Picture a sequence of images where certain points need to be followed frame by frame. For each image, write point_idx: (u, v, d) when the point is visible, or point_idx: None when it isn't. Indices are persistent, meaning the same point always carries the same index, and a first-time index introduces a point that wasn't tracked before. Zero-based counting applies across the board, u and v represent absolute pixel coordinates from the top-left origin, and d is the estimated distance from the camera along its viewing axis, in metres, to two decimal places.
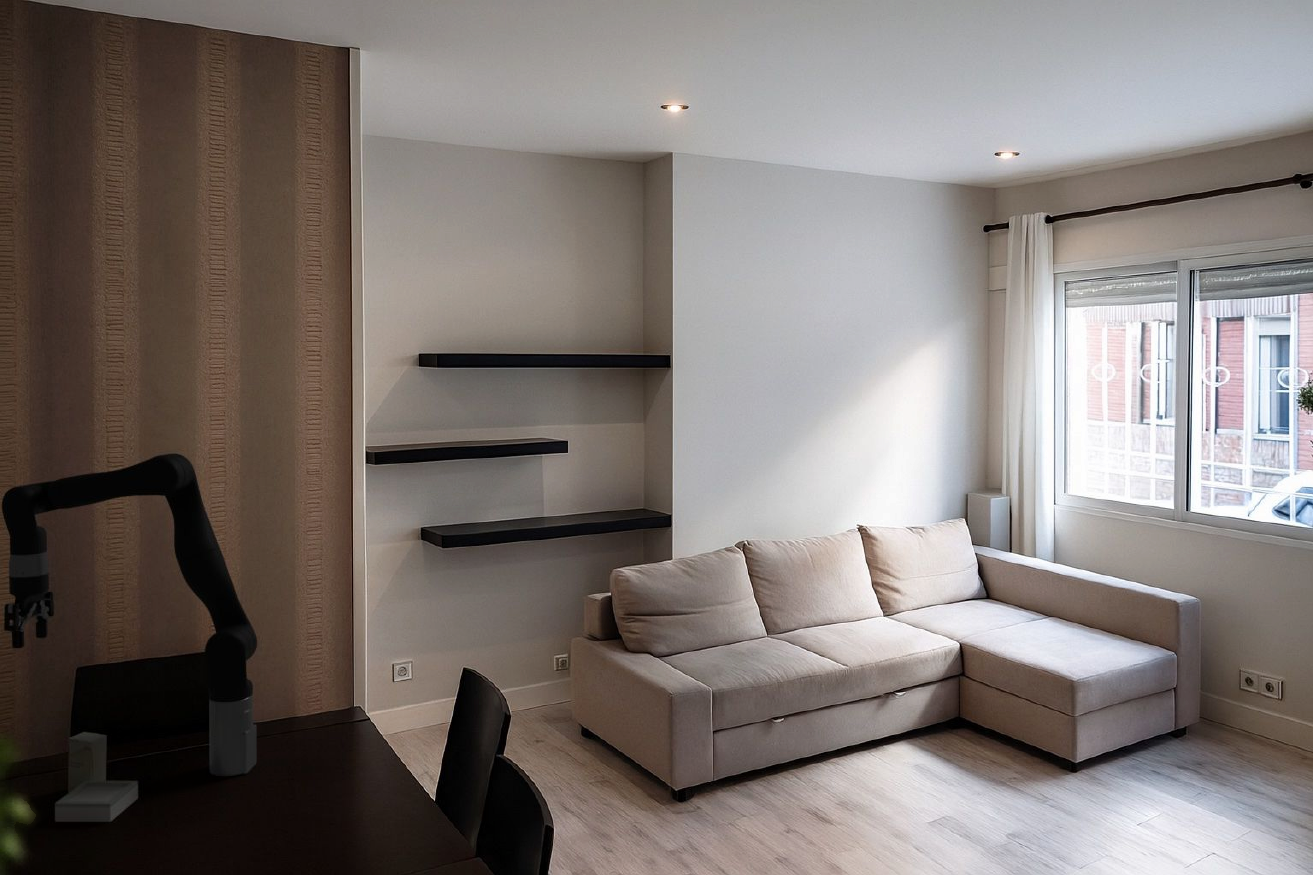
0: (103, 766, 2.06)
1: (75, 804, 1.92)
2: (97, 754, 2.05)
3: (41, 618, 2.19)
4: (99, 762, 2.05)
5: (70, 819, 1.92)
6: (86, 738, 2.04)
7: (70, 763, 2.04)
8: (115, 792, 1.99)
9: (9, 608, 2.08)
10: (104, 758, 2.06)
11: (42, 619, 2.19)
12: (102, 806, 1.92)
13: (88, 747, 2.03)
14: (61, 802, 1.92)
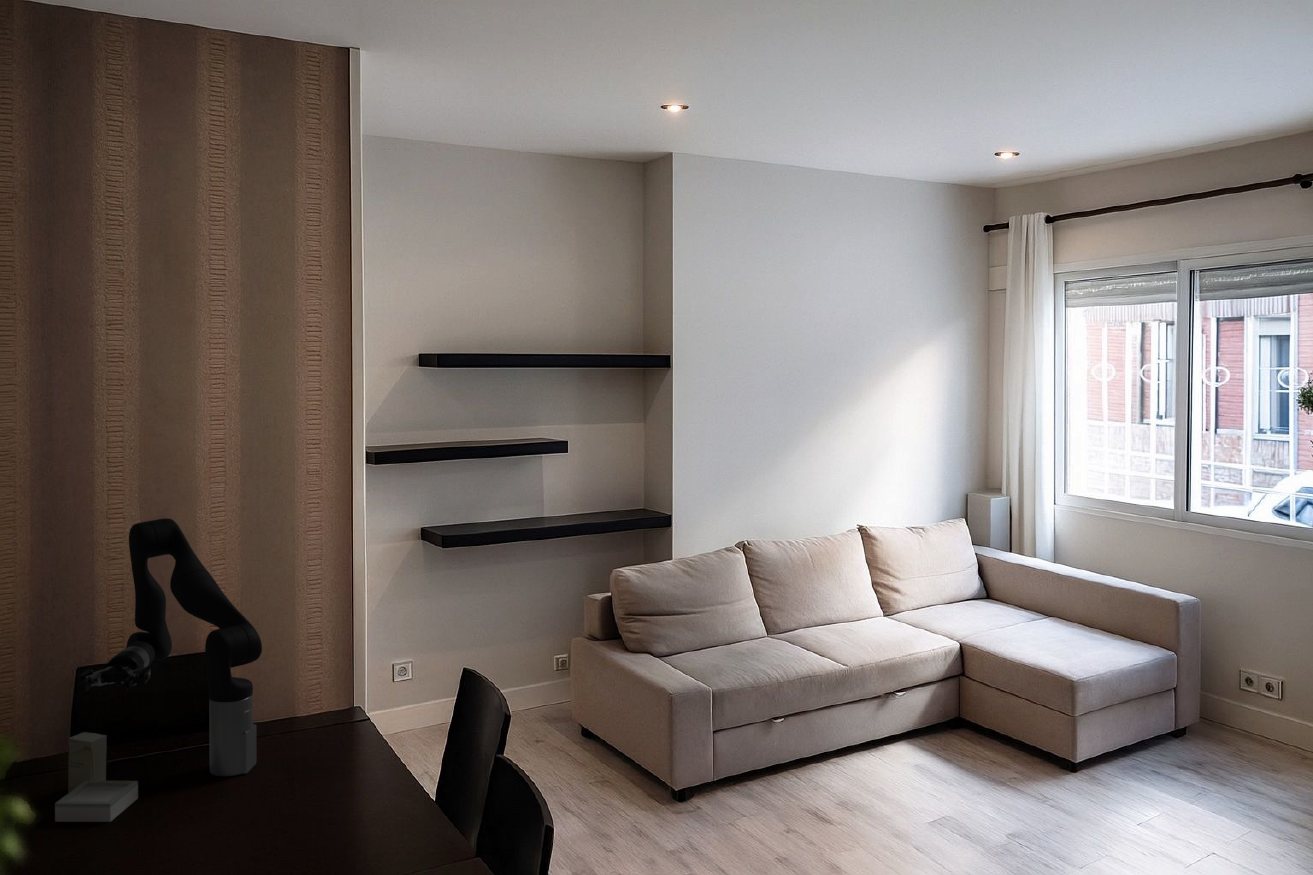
0: (103, 766, 2.06)
1: (75, 804, 1.92)
2: (97, 754, 2.05)
3: None
4: (99, 762, 2.05)
5: (70, 819, 1.92)
6: (86, 738, 2.04)
7: (70, 763, 2.04)
8: (115, 792, 1.99)
9: None
10: (104, 758, 2.06)
11: None
12: (102, 806, 1.92)
13: (88, 747, 2.03)
14: (61, 802, 1.92)
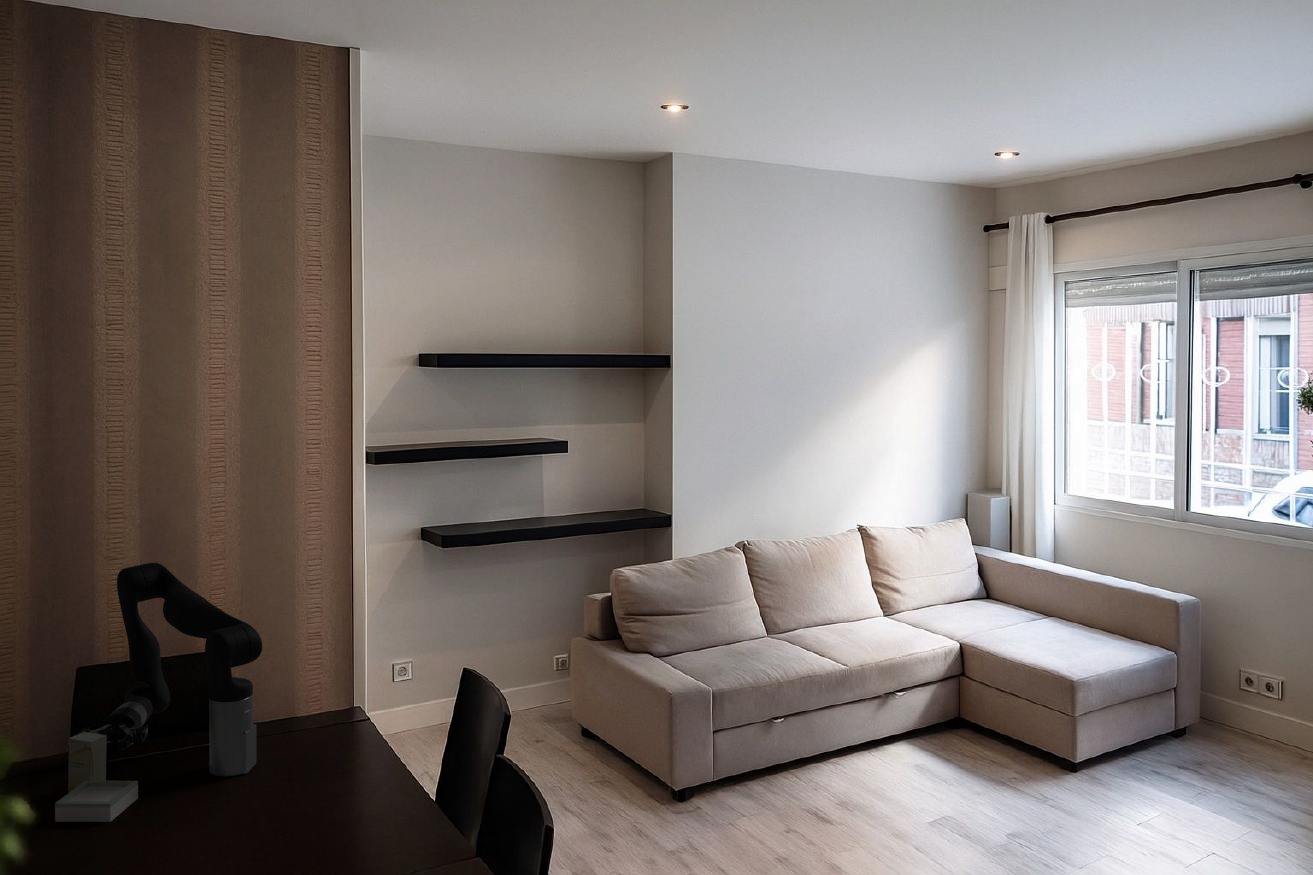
0: (103, 766, 2.06)
1: (75, 804, 1.92)
2: (97, 754, 2.05)
3: None
4: (99, 762, 2.05)
5: (70, 819, 1.92)
6: (86, 738, 2.04)
7: (70, 763, 2.04)
8: (115, 792, 1.99)
9: None
10: (104, 758, 2.06)
11: None
12: (102, 806, 1.92)
13: (88, 747, 2.03)
14: (61, 802, 1.92)
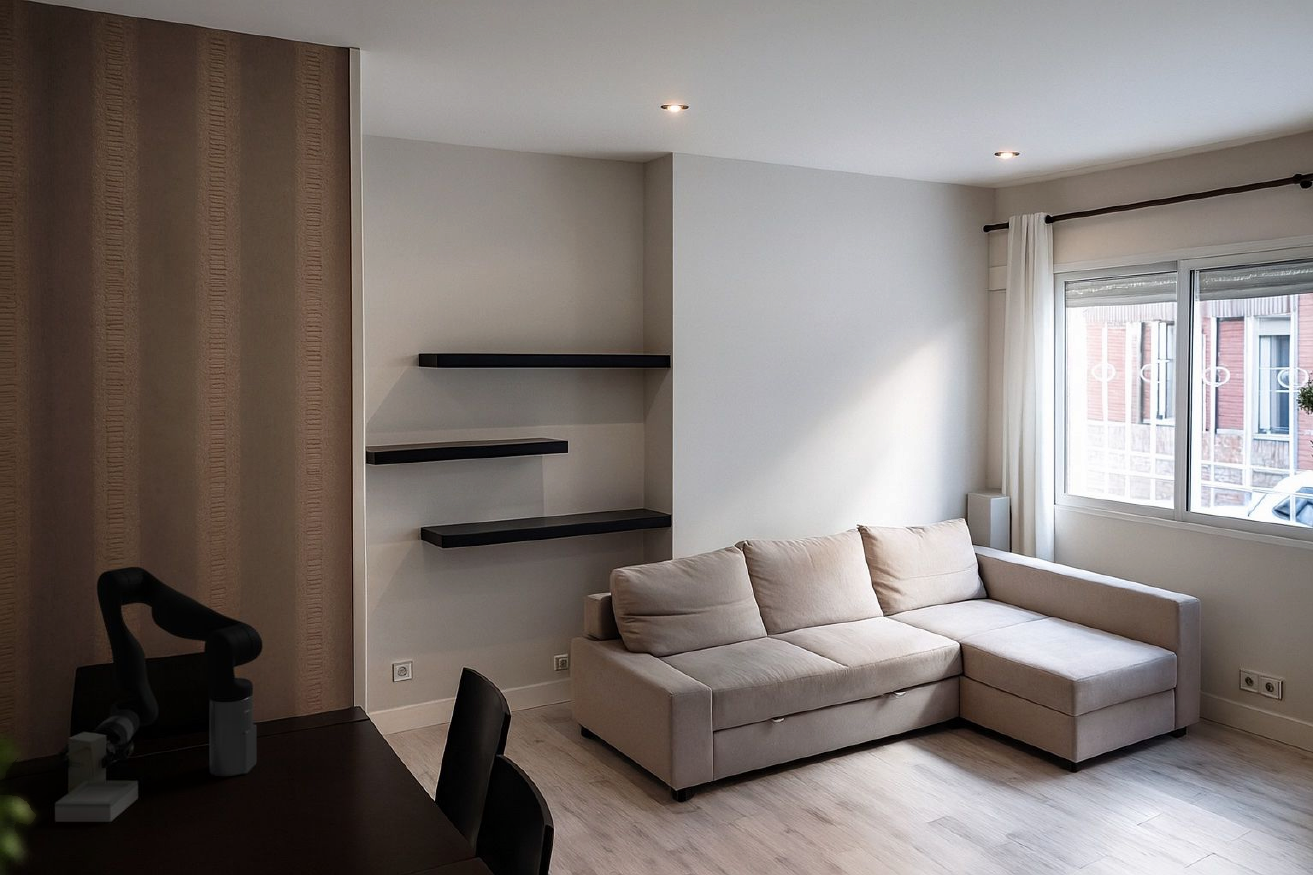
0: None
1: (75, 804, 1.92)
2: (97, 754, 2.05)
3: None
4: (99, 762, 2.05)
5: (70, 819, 1.92)
6: (86, 738, 2.04)
7: (70, 763, 2.04)
8: (115, 792, 1.99)
9: None
10: None
11: None
12: (102, 806, 1.92)
13: (88, 747, 2.03)
14: (61, 802, 1.92)
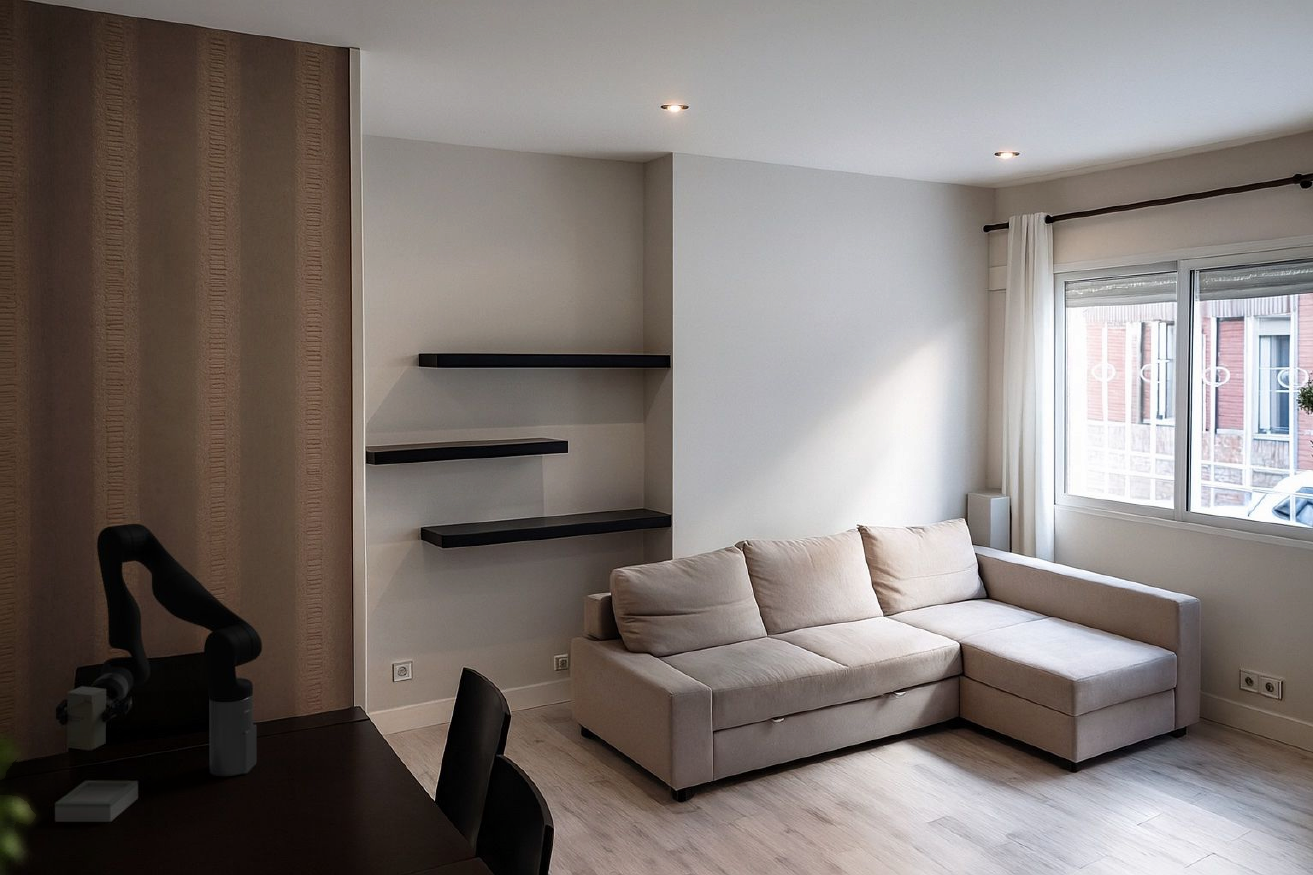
0: None
1: (75, 804, 1.92)
2: (98, 708, 2.01)
3: None
4: (100, 716, 2.02)
5: (70, 819, 1.92)
6: (86, 692, 2.01)
7: (69, 717, 2.01)
8: (115, 792, 1.99)
9: None
10: None
11: None
12: (102, 806, 1.92)
13: (89, 700, 2.00)
14: (61, 802, 1.92)
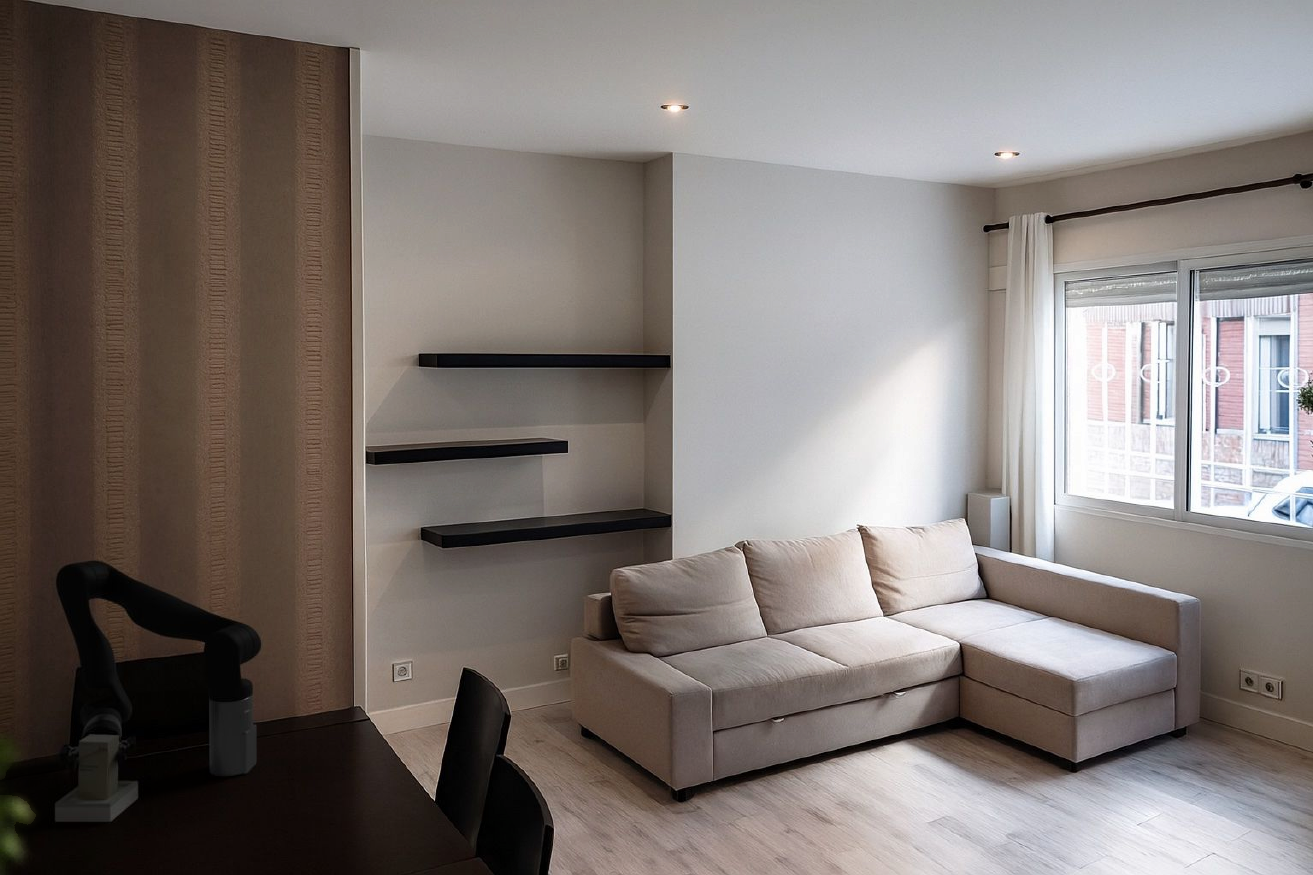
0: (116, 767, 1.98)
1: (75, 804, 1.92)
2: (112, 755, 1.97)
3: None
4: (113, 763, 1.97)
5: (70, 819, 1.92)
6: (99, 739, 1.96)
7: (81, 767, 1.95)
8: None
9: None
10: (117, 759, 1.99)
11: None
12: (102, 806, 1.92)
13: (104, 748, 1.95)
14: (61, 802, 1.92)
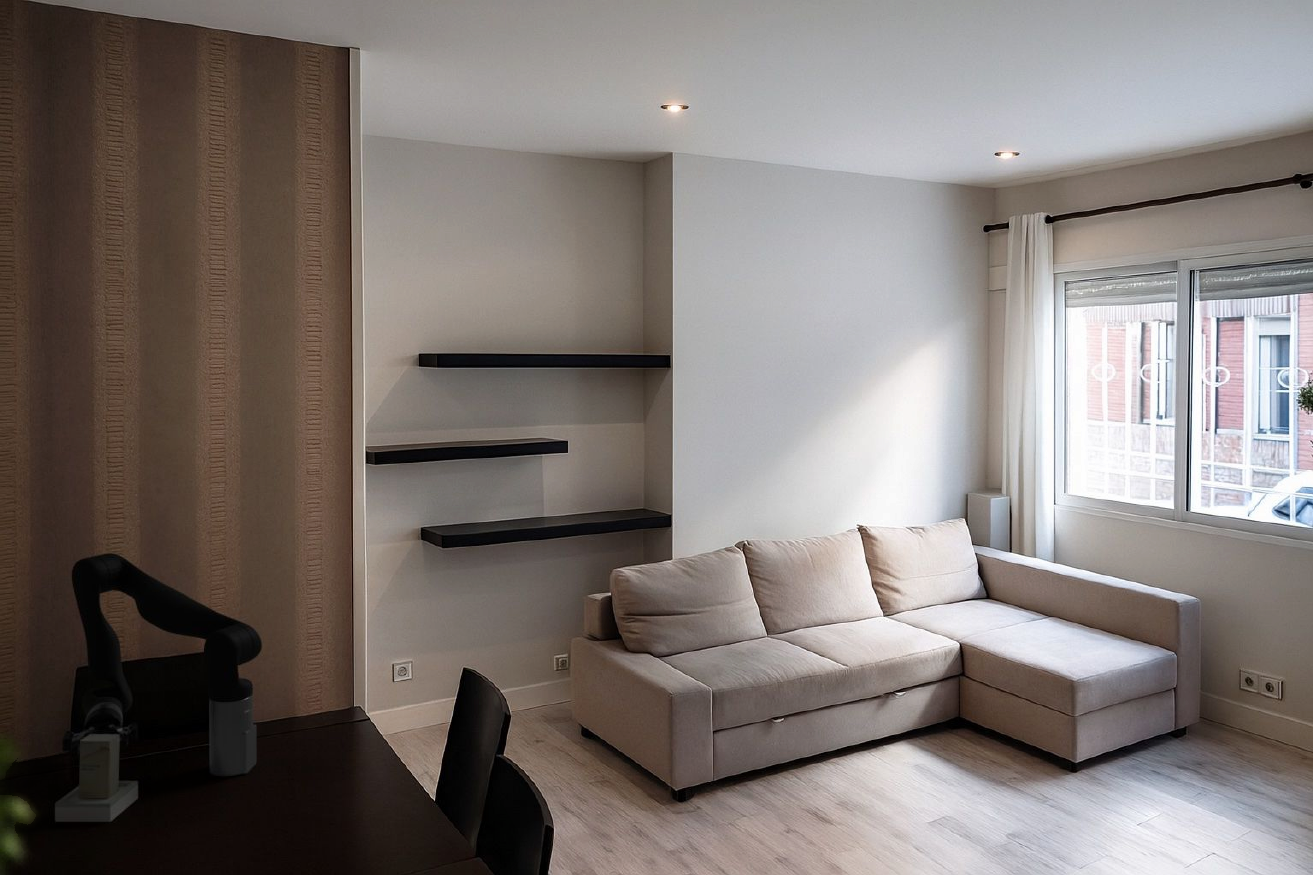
0: (117, 767, 1.99)
1: (75, 804, 1.92)
2: (113, 754, 1.97)
3: None
4: (115, 762, 1.98)
5: (70, 819, 1.92)
6: (101, 739, 1.96)
7: (82, 767, 1.95)
8: None
9: None
10: (118, 758, 1.99)
11: None
12: (102, 806, 1.92)
13: (106, 747, 1.95)
14: (61, 802, 1.92)
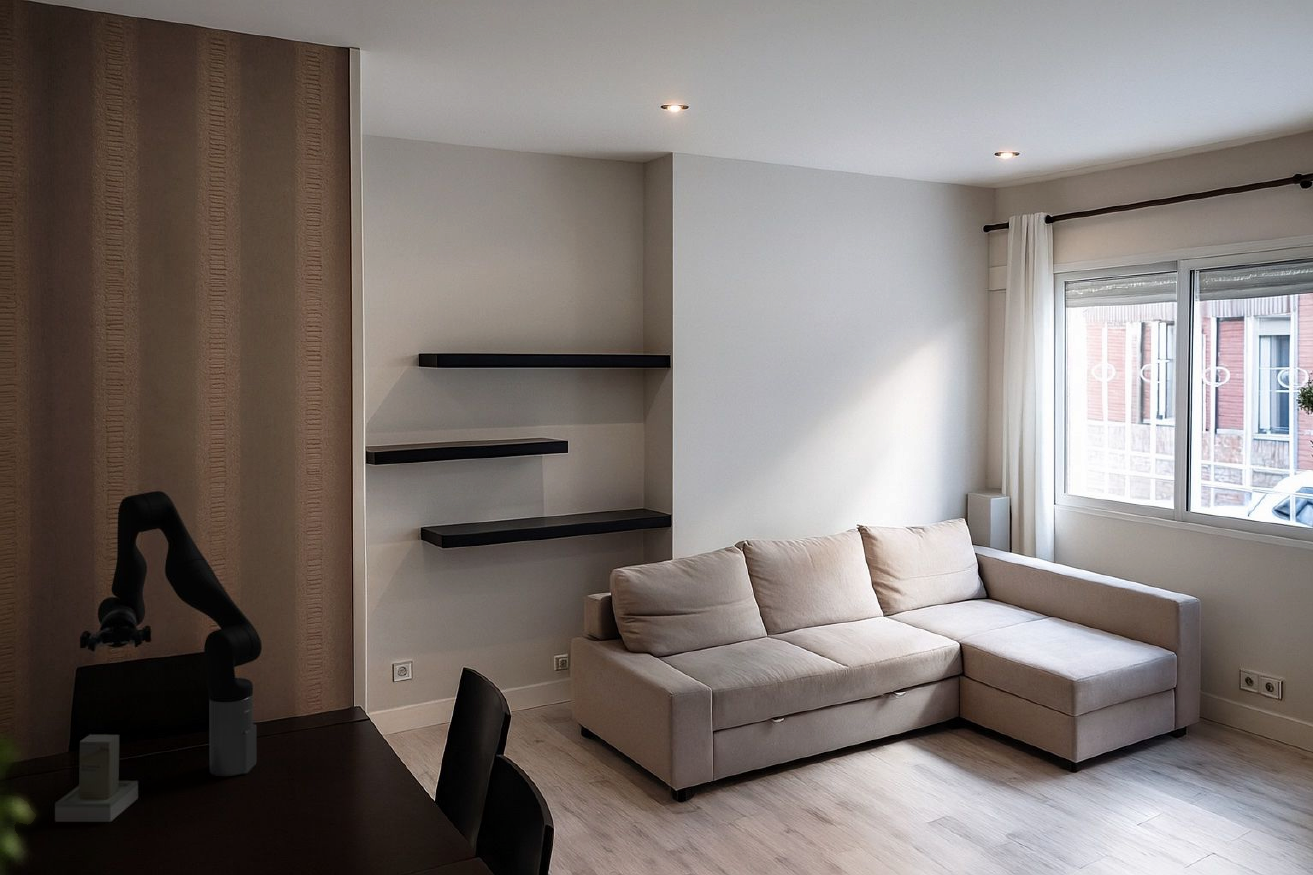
0: (117, 767, 1.99)
1: (75, 804, 1.92)
2: (113, 754, 1.97)
3: None
4: (115, 763, 1.98)
5: (70, 819, 1.92)
6: (100, 739, 1.96)
7: (82, 767, 1.95)
8: None
9: None
10: (117, 759, 1.99)
11: None
12: (102, 806, 1.92)
13: (106, 747, 1.95)
14: (61, 802, 1.92)
